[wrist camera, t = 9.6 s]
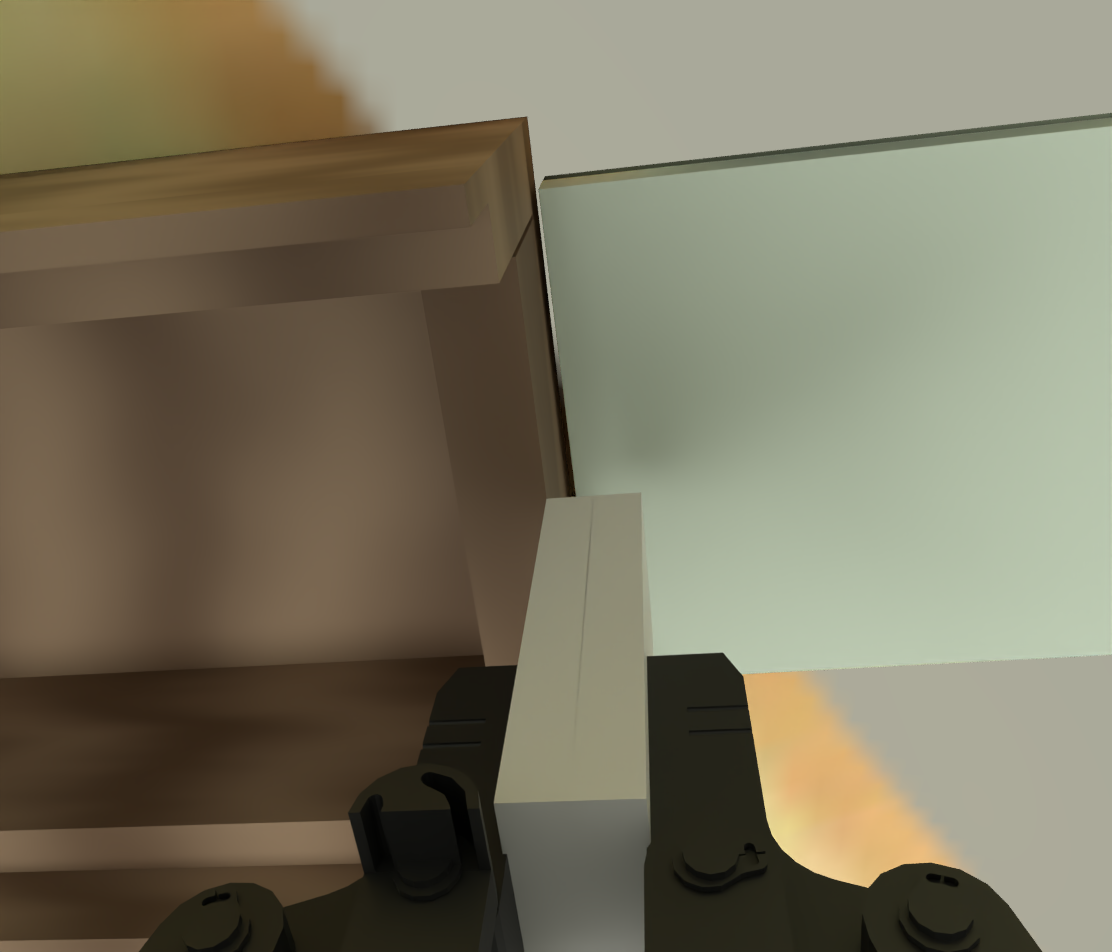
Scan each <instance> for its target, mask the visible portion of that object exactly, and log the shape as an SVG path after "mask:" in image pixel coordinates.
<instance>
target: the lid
mask: <svg viewBox="0 0 1112 952" xmlns="http://www.w3.org/2000/svg"><path fill="white" fill-rule="evenodd" d="M539 197H540V206H541V214H542V221H543V229H544V238H545V247H546V254H547V263H548V271H549V279H550V287H551V295H552V304H553V312H554V320H555V328H556V336H557V344H558V353H559V361H560V369H561V377H562V385H563V393H564V402H565V410H566V418H567V426H568V434H569V442H570V450H571V459H572V467H573V475H574V483H575V491H576V497H580V496H595V495H610V494H625V493H640V492H641V497H642V509H643V522H644V534H645V546H646V559H647V571H648V583H649V595H650V608H651V620H652V632H653V656H660V655H681V654H701V653H722V652H723V653H724V654H725V655H726V657H727V658H728V659H729V660H730V661H731V663H732V664H733V665H734V666H735V667H736V668H737V670H738V671H739V672H740V673H741V674H754V673H773V672H792V671H811V670H830V669H847V668H868V667H886V666H905V665H925V664H944V663H963V662H983V661H1002V660H1021V659H1038V658H1059V657H1078V656H1098V655H1112V113H1106V114H1097V115H1088V116H1079V117H1070V118H1061V119H1052V120H1043V121H1034V122H1025V123H1016V124H1007V125H998V126H989V127H981V128H971V129H962V130H953V131H945V132H935V133H926V134H918V135H909V136H900V137H891V138H882V139H873V140H865V141H856V142H846V143H837V144H829V145H820V146H810V147H801V148H793V149H783V150H775V151H765V152H757V153H748V154H739V155H731V156H721V157H712V158H703V159H695V160H685V161H676V162H668V163H658V164H650V165H640V166H632V167H623V168H614V169H605V170H596V171H587V172H579V173H569V174H560V175H551V176H545V177H544V179H543V181H542V183H541V185H540V188H539Z"/></svg>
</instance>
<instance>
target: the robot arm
mask: <svg viewBox="0 0 1112 952" xmlns="http://www.w3.org/2000/svg"><path fill="white" fill-rule="evenodd" d="M348 815H349V819H350V823H351V826H352V830H353V834H354V838H355V841H356V845H357V849H358V853H359V856H360V860H361V864H362V868H363V871H364V875H363V877H362V878H360V879H359V880H357V881H355V882H354V883H352V884H350V885H349V886H347V887H344V888H342V889H339V890H337V891H334V892H332V893H329V894H326V895H323V896H319V897H316V898H313V899H309V900H306V901H303V902H299V903H296V904H293V905H289V906H286V907H283V906H282V904H281V903H280V902H279V900H278V899H277V897H276V896H275V894H274V893H273V891H271V890H269V889H267V888H264V887H262V886H260V885H257V884H255V883H227V884H224V885H221V886H217V887H214V888H210V889H207V890H204V891H202V892H201V893H199V894H197V895H196V896H194V897H192V898H191V899H189V900H187V901H185V902H184V903H182V904H180V905H179V906H178V907H177V908H176V909H175V910H174V911H173V912H172V913H171V914H170V915H169V916H168V917H167V918H166V919H165V920H164V921H163V922H162V923H161V924H160V925H159V926H158V928H157V929H156V930H155V931H154V933H153V934H152V935H151V937H150V938H149V939H148V940H147V942H146V943H145V944H144V946H143V947H142V948H141V949H140V951H139V952H1042V951H1041V949H1040V948H1039V947H1038V945H1037V944H1036V942H1035V941H1034V940H1033V938H1032V937H1031V936H1030V934H1029V933H1028V931H1027V930H1026V929H1025V928H1024V926H1023V925H1022V923H1021V922H1020V920H1019V919H1018V918H1017V916H1016V915H1015V914H1014V912H1013V911H1012V909H1011V908H1010V907H1009V905H1008V904H1007V903H1006V902H1005V901H1004V900H1003V899H1002V898H1001V897H1000V896H999V895H998V894H997V893H996V892H995V891H994V890H993V889H992V888H991V887H990V886H989V885H988V884H986V883H984V882H982V881H981V880H979V879H977V878H975V877H973V876H971V875H969V874H968V873H966V872H964V871H962V870H960V869H956V868H951V867H947V866H943V865H939V864H934V863H918V864H903V865H901V866H898V867H896V868H894V869H891V870H889V871H887V872H884V873H882V874H880V876H879V877H878V878H877V879H876V880H875V881H874V882H873V884H872V885H871V886H870V887H869V888H866V887H862V886H858V885H854V884H850V883H846V882H842V881H838V880H834V879H831V878H828V877H825V876H823V875H820V874H817V873H814V872H812V871H810V870H809V869H807V868H805V867H804V866H802V865H800V864H798V863H797V862H795V861H794V860H793V859H792V858H791V857H790V856H788V855H787V854H786V853H785V852H784V851H783V850H782V849H781V848H780V846H779V845H778V843H777V842H776V841H775V839H774V838H773V836H772V834H771V831H770V828H769V825H768V822H767V819H766V812H765V806H764V800H763V794H762V788H761V782H760V776H759V770H758V764H757V758H756V752H755V746H754V739H753V734H752V727H751V721H750V715H749V710H748V703H747V697H746V691H745V685H744V679H743V676H742V674H741V673H740V672H739V671H738V670H737V668H736V667H735V666H734V665H733V664H732V663H731V661H730V660H729V659H728V658H727V657H726V655H725V654H724V653H723V652H722V653H701V654H681V655H660V656H653V632H652V620H651V608H650V595H649V583H648V571H647V559H646V546H645V534H644V522H643V509H642V497H641V492H640V493H625V494H610V495H595V496H580V497H565V498H550V499H546V505H545V510H544V516H543V522H542V528H541V533H540V539H539V545H538V551H537V556H536V562H535V568H534V574H533V579H532V585H531V591H530V597H529V603H528V608H527V614H526V620H525V626H524V631H523V637H522V643H521V649H520V654H519V660H518V665H505V666H484V667H463V668H458V669H457V670H456V672H455V673H454V674H453V675H452V676H451V677H450V678H449V680H448V681H447V682H446V683H445V684H444V685H443V686H442V688H441V689H440V690H439V691H438V692H437V694H436V698H435V701H434V705H433V708H432V712H431V715H430V719H429V726H427V729H426V733H425V736H424V740H423V749H421V751H420V754H419V758H418V761H417V765H414V766H408V767H403V768H399V769H397V770H395V771H393V772H391V773H388V774H386V775H384V776H382V777H380V778H378V779H376V780H375V781H374V782H373V783H372V784H370V785H369V786H368V787H367V788H366V789H365V790H363V791H362V792H361V793H360V794H359V795H358V797H357V798H356V800H355V802H354V803H353V805H352V807H351V808H350V810H349V812H348Z"/></svg>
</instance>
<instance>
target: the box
mask: <svg viewBox="0 0 1112 952" xmlns="http://www.w3.org/2000/svg"><path fill="white" fill-rule="evenodd" d="M565 497H571V491H570V483H569V474H568V465H567V457H566V448H565V439H564V431H563V422H562V414H561V405H560V396H559V388H558V379H557V370H556V362H555V353H554V344H553V336H552V327H551V318H550V310H549V301H548V293H547V284H546V275H545V267H544V258H543V249H542V241H541V233H540V224H539V215H538V206H537V198H536V189H535V180H534V171H533V164H532V155H531V146H530V137H529V128H528V120H527V117H520V118H510V119H501V120H493V121H484V122H475V123H466V124H456V125H448V126H439V127H430V128H421V129H411V130H402V131H393V132H383V133H374V134H365V135H356V136H347V137H338V138H329V139H320V140H311V141H302V142H293V143H284V144H275V145H266V146H257V147H248V148H239V149H229V150H220V151H211V152H202V153H193V154H184V155H175V156H166V157H157V158H148V159H139V160H130V161H121V162H112V163H103V164H94V165H84V166H75V167H66V168H57V169H48V170H39V171H30V172H21V173H12V174H3V175H0V952H139V951H140V949H141V948H142V947H143V946H144V944H145V943H146V942H147V940H148V939H149V938H150V937H151V935H152V934H153V933H154V931H155V930H156V929H157V928H158V926H159V925H160V924H161V923H162V922H163V921H164V920H165V919H166V918H167V917H168V916H169V915H170V914H171V913H172V912H173V911H174V910H175V909H176V908H177V907H178V906H179V905H180V904H182V903H184V902H185V901H187V900H189V899H191V898H192V897H194V896H196V895H197V894H199V893H201V892H202V891H204V890H207V889H210V888H214V887H217V886H221V885H224V884H227V883H255V884H257V885H260V886H262V887H264V888H267V889H269V890H271V891H273V893H274V894H275V896H276V897H277V899H278V900H279V902H280V903H281V904H282V906H283V907H286V906H289V905H293V904H296V903H299V902H303V901H306V900H309V899H313V898H316V897H319V896H323V895H326V894H329V893H332V892H334V891H337V890H339V889H342V888H344V887H347V886H349V885H350V884H352V883H354V882H355V881H357V880H359V879H360V878H362V877H363V875H364V871H363V868H362V864H361V860H360V856H359V853H358V849H357V845H356V841H355V838H354V834H353V830H352V826H351V823H350V819H349V815H348V812H349V810H350V808H351V807H352V805H353V803H354V802H355V800H356V798H357V797H358V795H359V794H360V793H361V792H362V791H363V790H365V789H366V788H367V787H368V786H369V785H370V784H372V783H373V782H374V781H375V780H376V779H378V778H380V777H382V776H384V775H386V774H388V773H391V772H393V771H395V770H397V769H399V768H403V767H408V766H414V765H417V761H418V758H419V754H420V751H421V749H423V740H424V736H425V733H426V729H427V726H429V719H430V715H431V712H432V708H433V705H434V701H435V698H436V694H437V692H438V691H439V690H440V689H441V688H442V686H443V685H444V684H445V683H446V682H447V681H448V680H449V678H450V677H451V676H452V675H453V674H454V673H455V672H456V670H457V669H458V668H463V667H484V666H505V665H518V660H519V654H520V649H521V643H522V637H523V631H524V626H525V620H526V614H527V608H528V603H529V597H530V591H531V585H532V579H533V574H534V568H535V562H536V556H537V551H538V545H539V539H540V533H541V528H542V522H543V516H544V510H545V505H546V499H550V498H565Z"/></svg>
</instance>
